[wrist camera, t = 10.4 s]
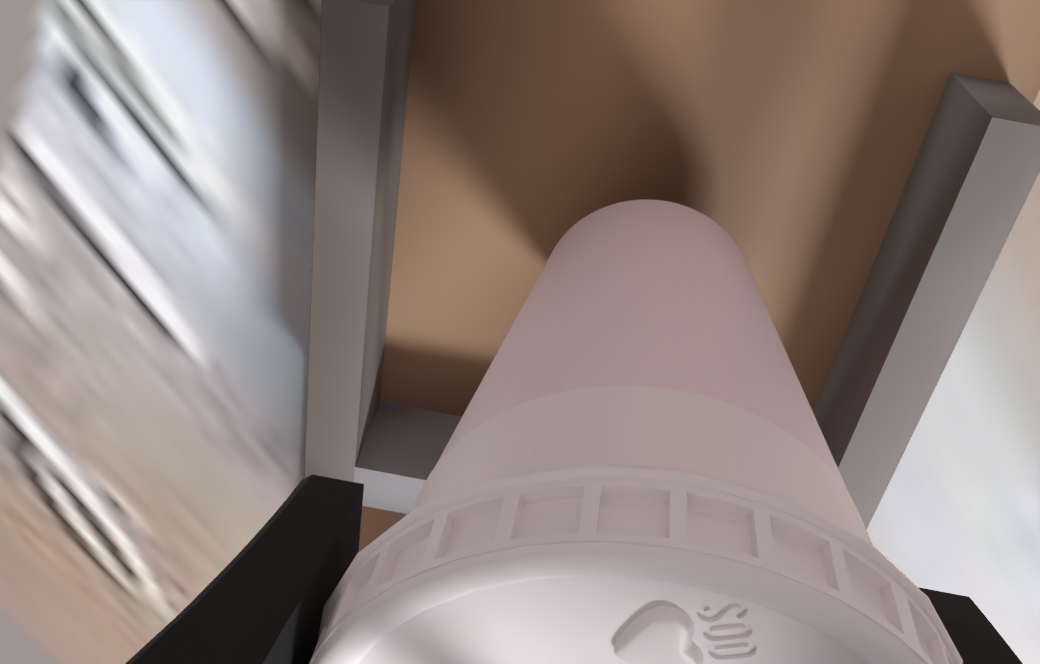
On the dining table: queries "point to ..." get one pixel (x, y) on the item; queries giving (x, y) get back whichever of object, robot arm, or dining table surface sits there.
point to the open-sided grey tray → (656, 195)
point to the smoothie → (634, 487)
